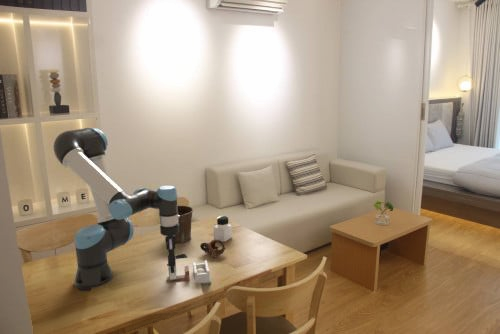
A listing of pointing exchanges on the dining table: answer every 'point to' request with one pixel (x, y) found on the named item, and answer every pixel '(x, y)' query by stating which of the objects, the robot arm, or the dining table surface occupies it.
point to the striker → (181, 277)
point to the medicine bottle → (222, 229)
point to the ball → (200, 270)
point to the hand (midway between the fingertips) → (172, 276)
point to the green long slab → (202, 277)
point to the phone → (181, 256)
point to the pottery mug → (213, 248)
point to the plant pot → (184, 224)
